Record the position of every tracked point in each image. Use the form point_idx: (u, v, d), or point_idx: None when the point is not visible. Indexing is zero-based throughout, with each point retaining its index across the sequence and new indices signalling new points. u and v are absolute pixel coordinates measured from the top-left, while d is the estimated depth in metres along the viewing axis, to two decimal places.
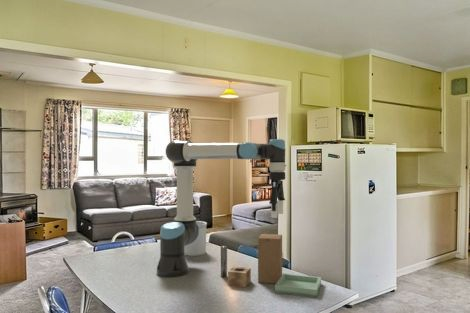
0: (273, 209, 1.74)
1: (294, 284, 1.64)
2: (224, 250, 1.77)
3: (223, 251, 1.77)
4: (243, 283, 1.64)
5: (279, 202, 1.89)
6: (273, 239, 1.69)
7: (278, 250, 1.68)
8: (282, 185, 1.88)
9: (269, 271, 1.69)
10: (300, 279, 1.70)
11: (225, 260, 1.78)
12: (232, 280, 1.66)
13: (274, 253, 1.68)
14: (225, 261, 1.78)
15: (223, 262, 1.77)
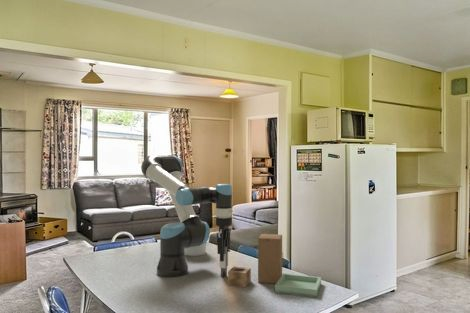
0: (221, 259, 1.76)
1: (294, 284, 1.64)
2: None
3: None
4: (243, 283, 1.64)
5: None
6: (273, 239, 1.69)
7: (278, 250, 1.68)
8: (229, 233, 1.83)
9: (269, 271, 1.69)
10: (300, 279, 1.70)
11: None
12: (232, 280, 1.66)
13: (274, 253, 1.68)
14: None
15: None
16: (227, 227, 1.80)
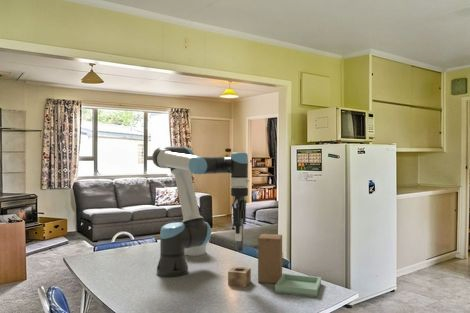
0: (237, 232, 1.66)
1: (294, 284, 1.64)
2: None
3: None
4: (243, 283, 1.64)
5: None
6: (273, 239, 1.69)
7: (278, 250, 1.68)
8: (245, 205, 1.74)
9: (269, 271, 1.69)
10: (300, 279, 1.70)
11: None
12: (232, 280, 1.66)
13: (274, 253, 1.68)
14: None
15: None
16: (243, 198, 1.71)
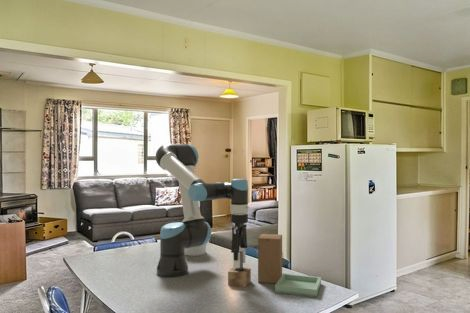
0: (235, 259, 1.64)
1: (294, 284, 1.64)
2: None
3: None
4: (243, 283, 1.64)
5: (241, 250, 1.73)
6: (273, 239, 1.69)
7: (278, 250, 1.68)
8: (245, 229, 1.74)
9: (269, 271, 1.69)
10: (300, 279, 1.70)
11: (241, 266, 1.68)
12: (232, 280, 1.66)
13: (274, 253, 1.68)
14: (241, 267, 1.68)
15: (239, 268, 1.68)
16: (243, 225, 1.71)
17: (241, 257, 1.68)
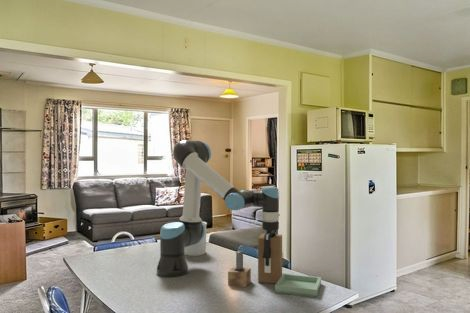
0: (266, 264, 1.67)
1: (294, 284, 1.64)
2: (239, 255, 1.68)
3: (239, 256, 1.68)
4: (243, 283, 1.64)
5: None
6: (273, 239, 1.69)
7: (278, 250, 1.68)
8: None
9: None
10: (300, 279, 1.70)
11: (241, 266, 1.68)
12: (232, 280, 1.66)
13: (274, 253, 1.68)
14: (241, 267, 1.68)
15: (239, 268, 1.68)
16: (273, 232, 1.75)
17: (241, 257, 1.68)
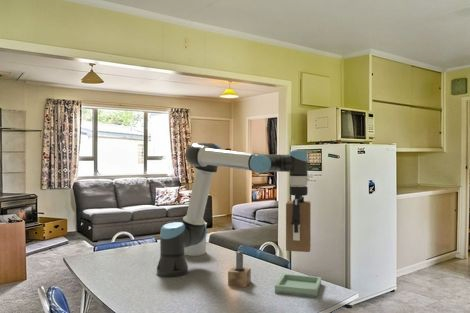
0: (295, 231, 1.56)
1: (294, 284, 1.64)
2: (239, 255, 1.68)
3: (239, 256, 1.68)
4: (243, 283, 1.64)
5: None
6: (302, 204, 1.58)
7: (308, 216, 1.57)
8: None
9: None
10: (300, 279, 1.70)
11: (241, 266, 1.68)
12: (232, 280, 1.66)
13: (303, 219, 1.57)
14: (241, 267, 1.68)
15: (239, 268, 1.68)
16: (301, 198, 1.64)
17: (241, 257, 1.68)
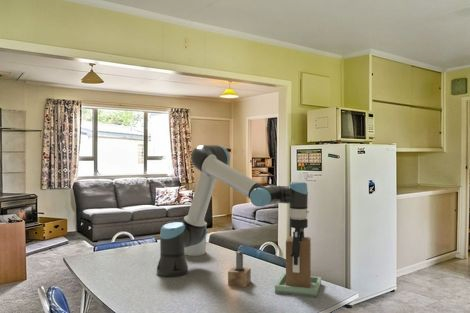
0: (295, 263, 1.55)
1: None
2: (239, 255, 1.68)
3: (239, 256, 1.68)
4: (243, 283, 1.64)
5: None
6: (302, 242, 1.58)
7: (308, 254, 1.57)
8: None
9: (298, 276, 1.58)
10: None
11: (241, 266, 1.68)
12: (232, 280, 1.66)
13: (303, 258, 1.57)
14: (241, 267, 1.68)
15: (239, 268, 1.68)
16: (301, 231, 1.64)
17: (241, 257, 1.68)
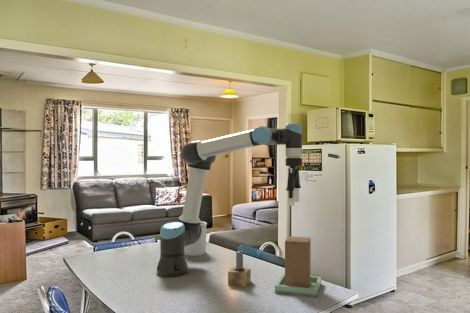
0: (290, 196, 1.67)
1: None
2: (239, 255, 1.68)
3: (239, 256, 1.68)
4: (243, 283, 1.64)
5: (295, 190, 1.81)
6: (301, 242, 1.58)
7: (306, 254, 1.57)
8: None
9: (297, 276, 1.58)
10: None
11: (241, 266, 1.68)
12: (232, 280, 1.66)
13: (302, 257, 1.57)
14: (241, 267, 1.68)
15: (239, 268, 1.68)
16: (296, 170, 1.76)
17: (241, 257, 1.68)
